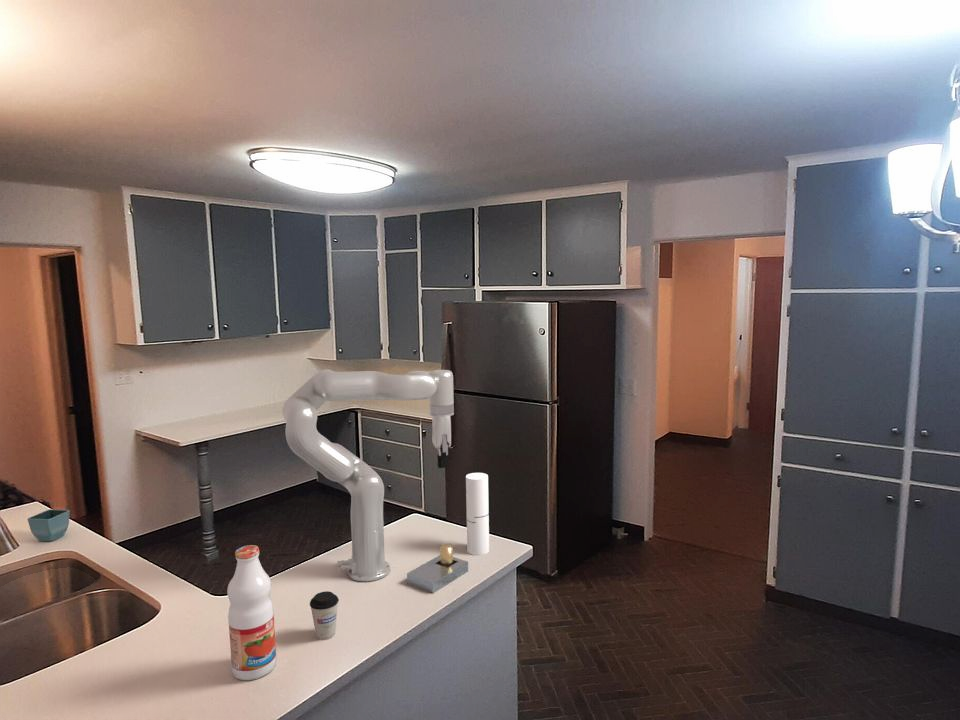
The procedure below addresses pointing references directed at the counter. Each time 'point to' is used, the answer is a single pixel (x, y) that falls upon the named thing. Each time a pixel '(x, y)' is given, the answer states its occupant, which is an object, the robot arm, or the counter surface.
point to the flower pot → (49, 524)
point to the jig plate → (436, 574)
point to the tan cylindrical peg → (446, 555)
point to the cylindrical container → (477, 513)
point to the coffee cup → (324, 614)
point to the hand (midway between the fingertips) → (443, 466)
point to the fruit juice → (251, 617)
